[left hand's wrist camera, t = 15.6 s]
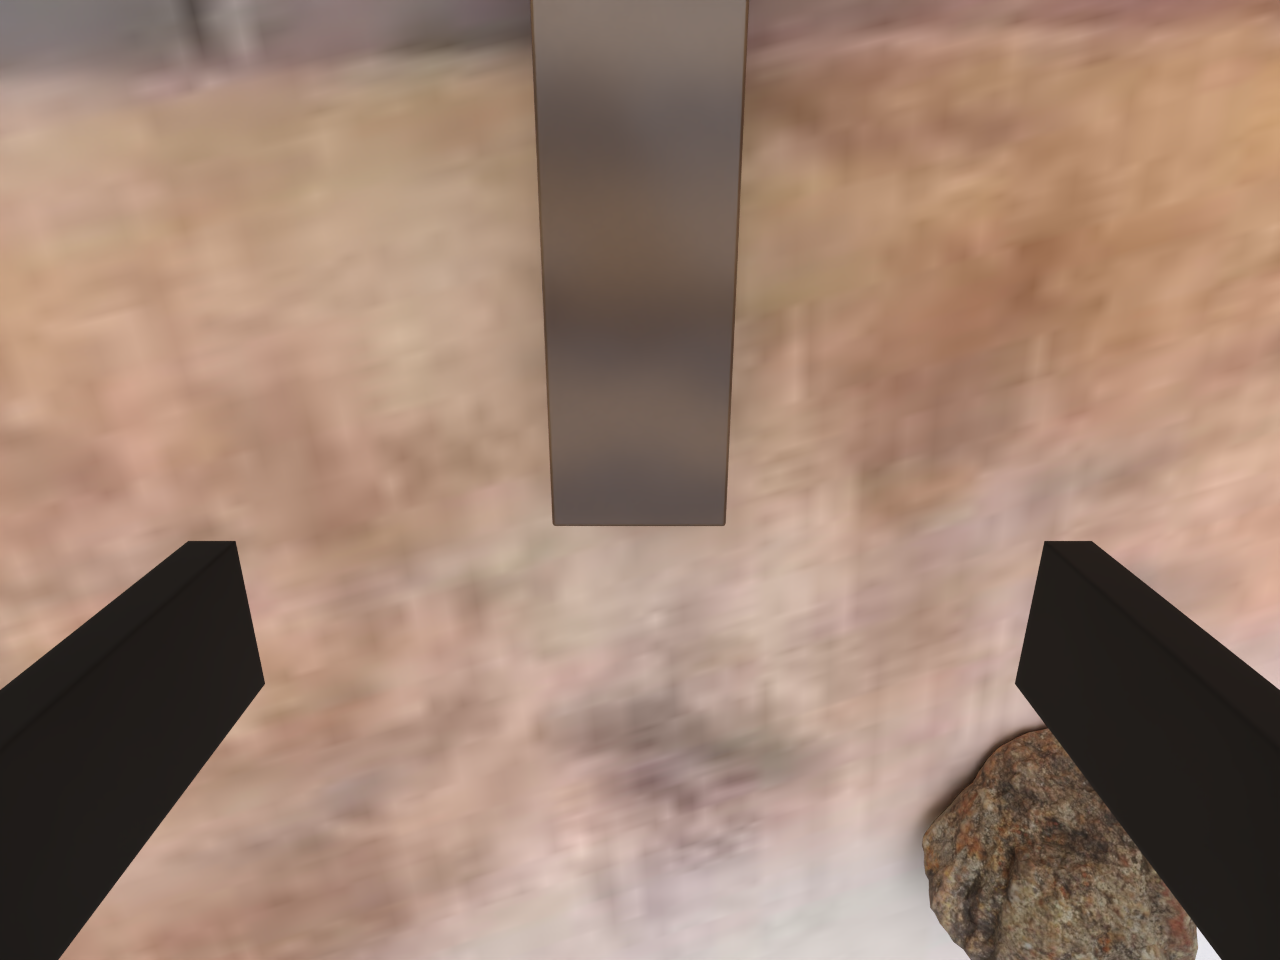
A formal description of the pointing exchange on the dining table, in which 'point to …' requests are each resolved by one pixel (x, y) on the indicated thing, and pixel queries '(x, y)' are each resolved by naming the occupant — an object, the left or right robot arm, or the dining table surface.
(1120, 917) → the rock
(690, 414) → the post
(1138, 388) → the dining table surface
